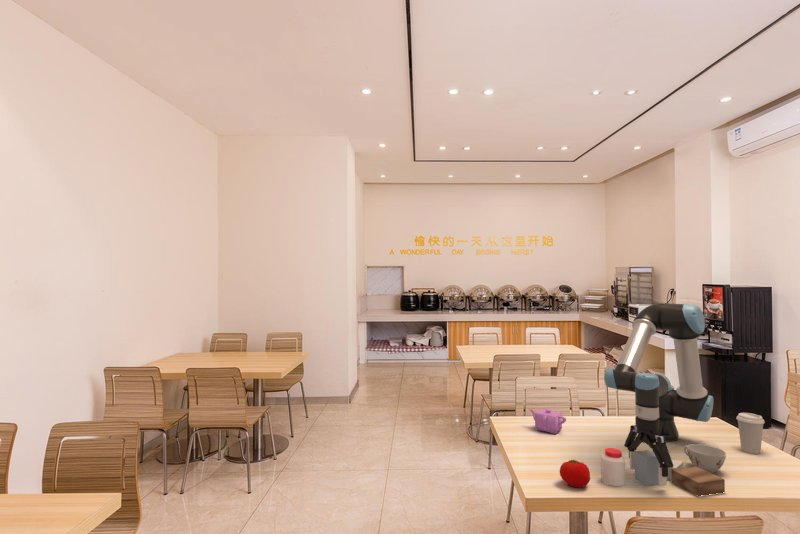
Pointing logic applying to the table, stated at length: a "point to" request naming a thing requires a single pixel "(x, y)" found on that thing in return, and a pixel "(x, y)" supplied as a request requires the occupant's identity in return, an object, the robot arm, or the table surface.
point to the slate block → (646, 468)
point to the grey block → (675, 466)
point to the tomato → (575, 473)
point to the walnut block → (698, 481)
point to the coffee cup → (750, 432)
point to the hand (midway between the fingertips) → (647, 476)
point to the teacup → (705, 456)
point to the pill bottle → (613, 467)
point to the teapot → (548, 420)
